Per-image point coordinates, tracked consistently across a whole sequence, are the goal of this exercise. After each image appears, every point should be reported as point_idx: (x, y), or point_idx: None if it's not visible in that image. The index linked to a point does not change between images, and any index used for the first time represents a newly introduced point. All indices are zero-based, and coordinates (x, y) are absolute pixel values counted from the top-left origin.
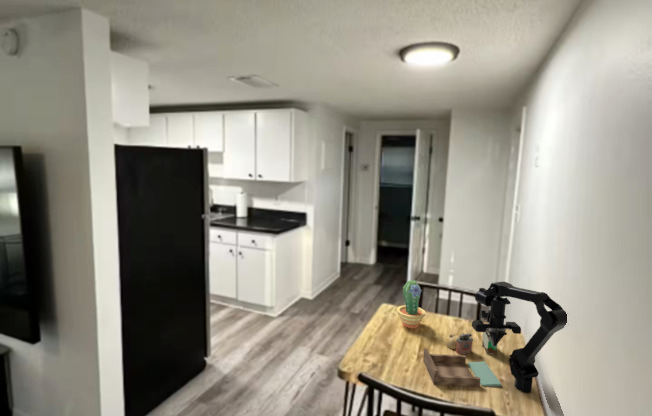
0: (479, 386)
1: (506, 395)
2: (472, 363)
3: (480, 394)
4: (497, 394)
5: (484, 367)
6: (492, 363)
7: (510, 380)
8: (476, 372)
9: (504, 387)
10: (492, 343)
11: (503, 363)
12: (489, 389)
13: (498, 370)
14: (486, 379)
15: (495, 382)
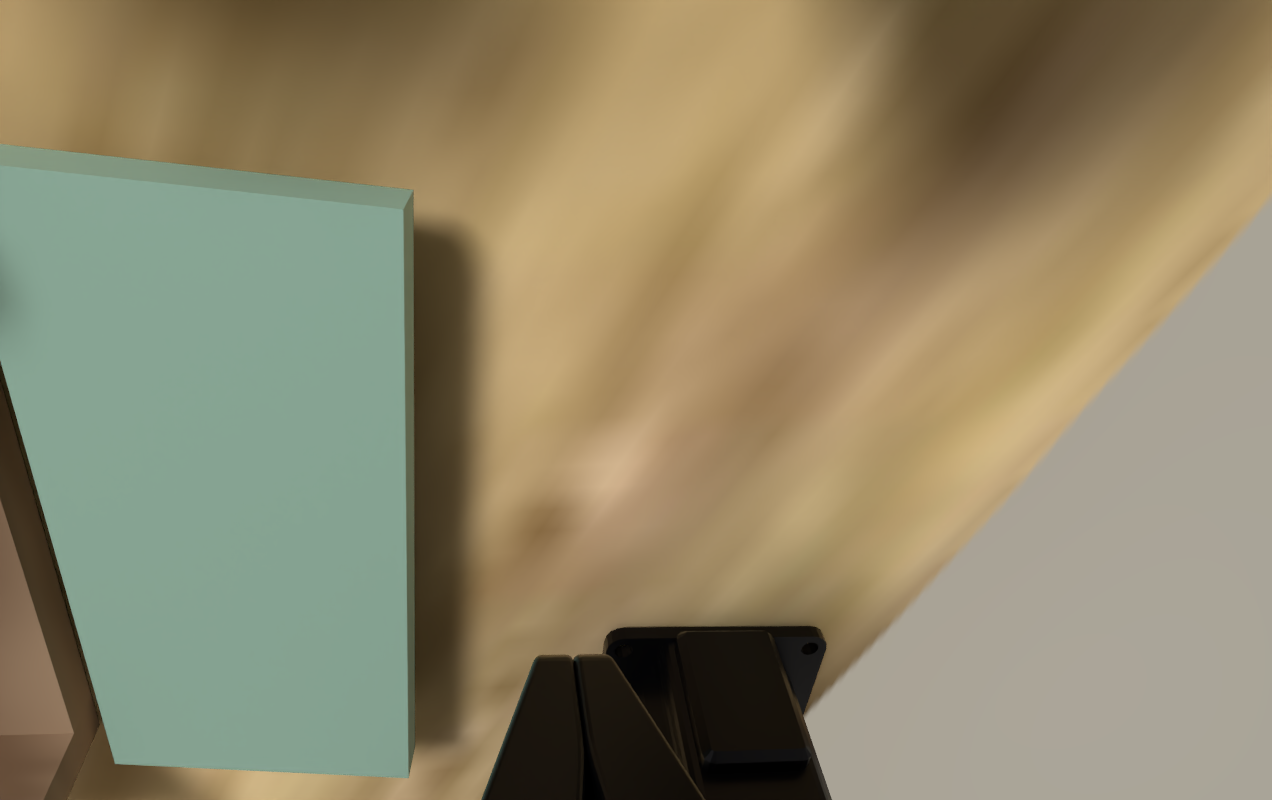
0: (77, 764)
1: (435, 776)
2: (69, 235)
3: (89, 792)
4: None
5: (306, 416)
6: (679, 26)
7: (682, 532)
8: (94, 525)
9: (493, 664)
10: (521, 701)
11: (933, 32)
12: None
13: (653, 288)
14: (221, 691)
15: (337, 750)
